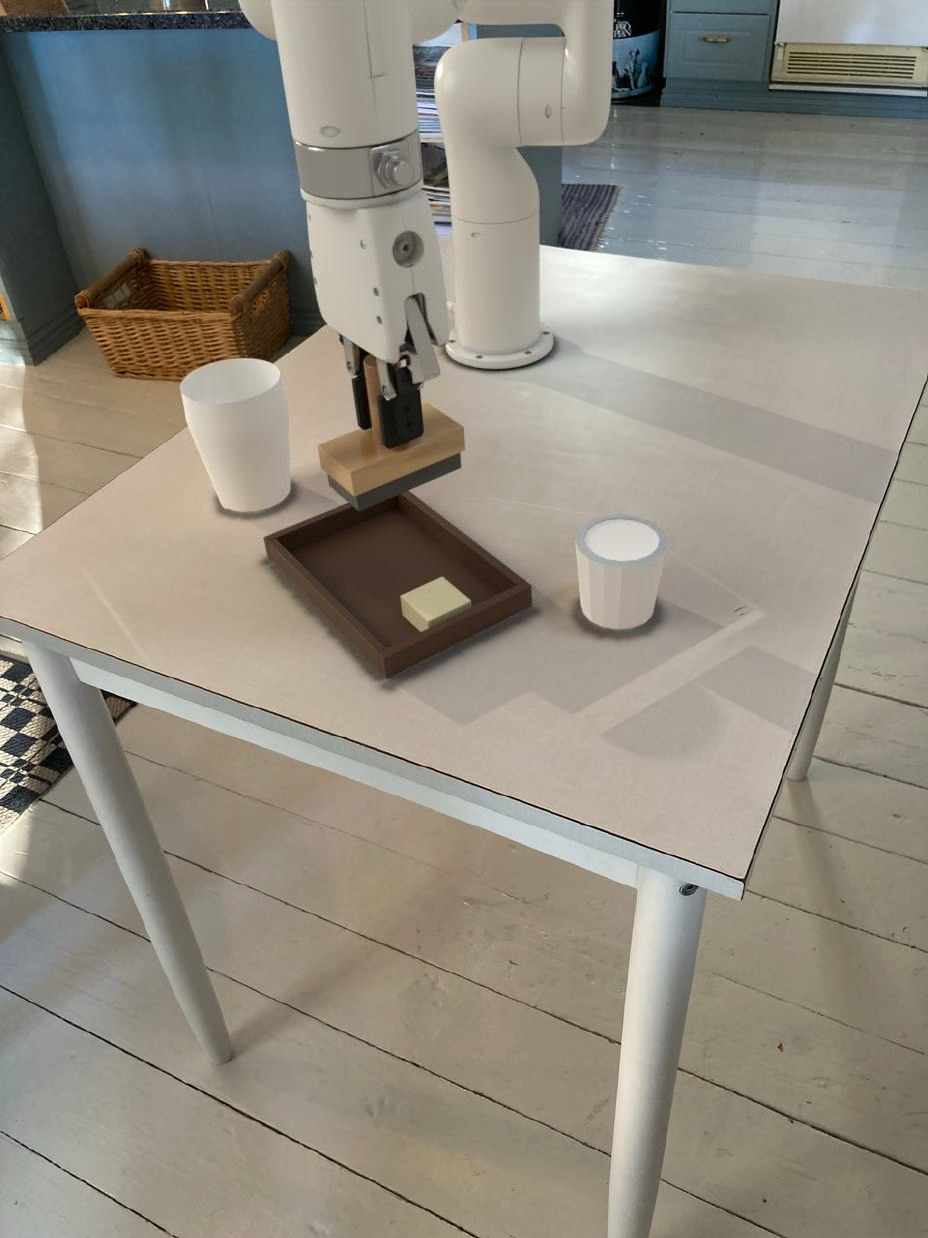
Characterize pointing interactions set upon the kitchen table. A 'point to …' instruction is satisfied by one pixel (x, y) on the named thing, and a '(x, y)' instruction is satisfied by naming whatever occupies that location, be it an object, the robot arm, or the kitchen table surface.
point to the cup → (241, 430)
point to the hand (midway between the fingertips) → (390, 429)
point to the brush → (389, 453)
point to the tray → (394, 577)
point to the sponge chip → (433, 603)
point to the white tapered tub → (619, 569)
